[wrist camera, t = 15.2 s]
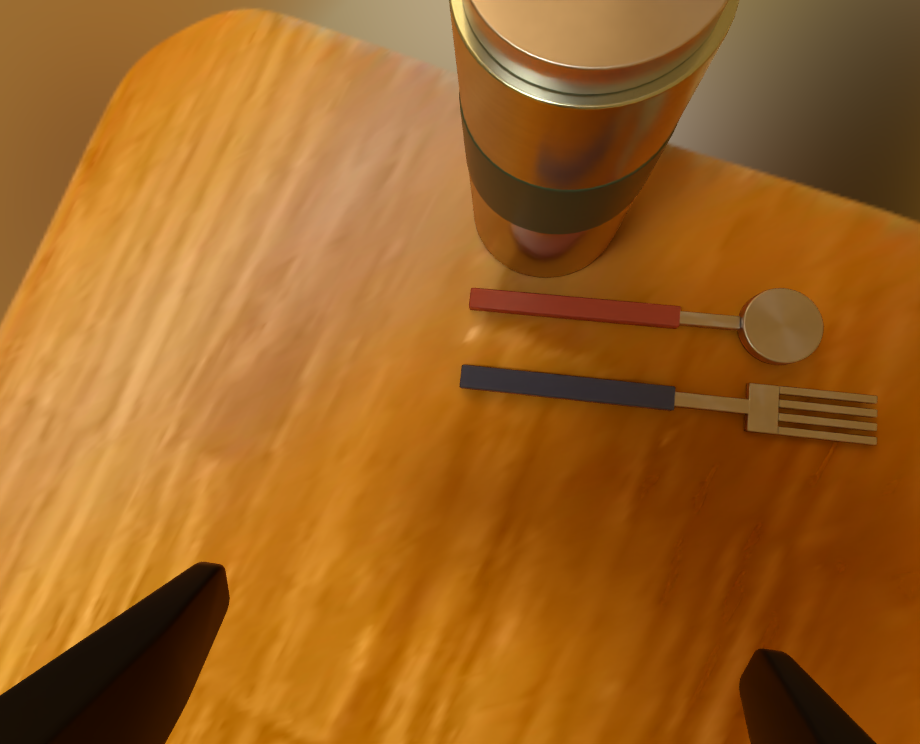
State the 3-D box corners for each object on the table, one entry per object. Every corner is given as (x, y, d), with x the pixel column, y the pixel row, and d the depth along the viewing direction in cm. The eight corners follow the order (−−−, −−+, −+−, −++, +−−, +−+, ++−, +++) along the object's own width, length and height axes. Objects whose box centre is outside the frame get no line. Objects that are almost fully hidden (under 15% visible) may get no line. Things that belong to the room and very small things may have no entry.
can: (535, 308, 22) (580, 147, 10) (443, 200, 23) (381, -66, 11) (652, 215, 22) (835, -55, 10) (555, 113, 23) (616, -246, 11)
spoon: (816, 295, 21) (825, 291, 21) (814, 368, 21) (823, 367, 20) (474, 266, 23) (473, 261, 22) (466, 335, 22) (465, 331, 22)
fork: (872, 396, 21) (881, 395, 20) (871, 445, 20) (881, 445, 20) (464, 354, 22) (463, 352, 22) (458, 399, 22) (457, 398, 21)
